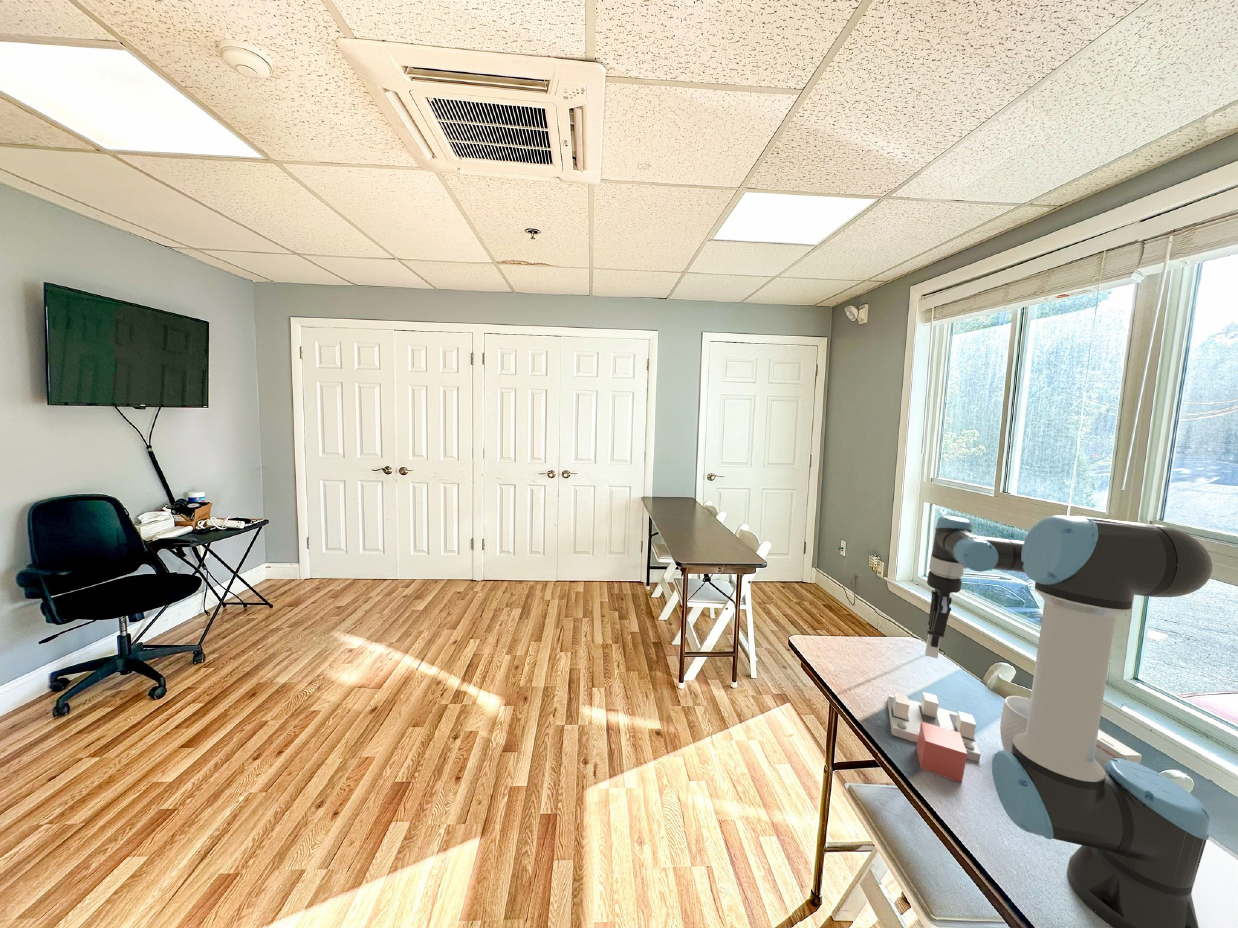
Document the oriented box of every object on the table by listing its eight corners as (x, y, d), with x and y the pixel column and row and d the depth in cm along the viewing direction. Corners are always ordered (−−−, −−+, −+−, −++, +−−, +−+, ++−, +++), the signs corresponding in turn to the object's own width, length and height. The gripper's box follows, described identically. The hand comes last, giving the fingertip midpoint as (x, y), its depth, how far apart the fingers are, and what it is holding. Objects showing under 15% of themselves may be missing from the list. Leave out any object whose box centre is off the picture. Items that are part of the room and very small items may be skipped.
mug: (1084, 778, 109) (1095, 726, 107) (1068, 798, 103) (1081, 743, 101) (1004, 737, 122) (1014, 690, 120) (987, 753, 115) (996, 703, 114)
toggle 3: (973, 739, 117) (976, 724, 116) (958, 734, 118) (961, 720, 117) (969, 729, 120) (972, 715, 120) (955, 725, 122) (958, 711, 121)
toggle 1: (907, 719, 123) (909, 705, 122) (893, 715, 124) (896, 701, 123) (905, 710, 126) (907, 696, 126) (892, 707, 127) (894, 693, 127)
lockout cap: (961, 782, 106) (967, 753, 105) (920, 768, 109) (925, 740, 108) (955, 759, 112) (960, 732, 112) (916, 747, 116) (921, 721, 115)
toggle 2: (936, 717, 124) (938, 703, 124) (922, 713, 125) (925, 699, 125) (933, 709, 128) (936, 695, 127) (920, 705, 129) (922, 691, 128)
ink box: (1133, 805, 102) (1145, 755, 101) (1114, 807, 102) (1126, 757, 100) (1088, 773, 111) (1098, 727, 109) (1070, 775, 110) (1081, 728, 108)
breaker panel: (979, 761, 112) (980, 753, 112) (891, 734, 120) (893, 726, 120) (964, 722, 127) (966, 714, 126) (887, 699, 134) (888, 692, 134)
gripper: (967, 585, 120) (952, 671, 124) (957, 569, 132) (943, 648, 136) (932, 578, 124) (918, 662, 127) (925, 563, 135) (912, 641, 139)
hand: (931, 655), depth 131 cm, fingers closed
